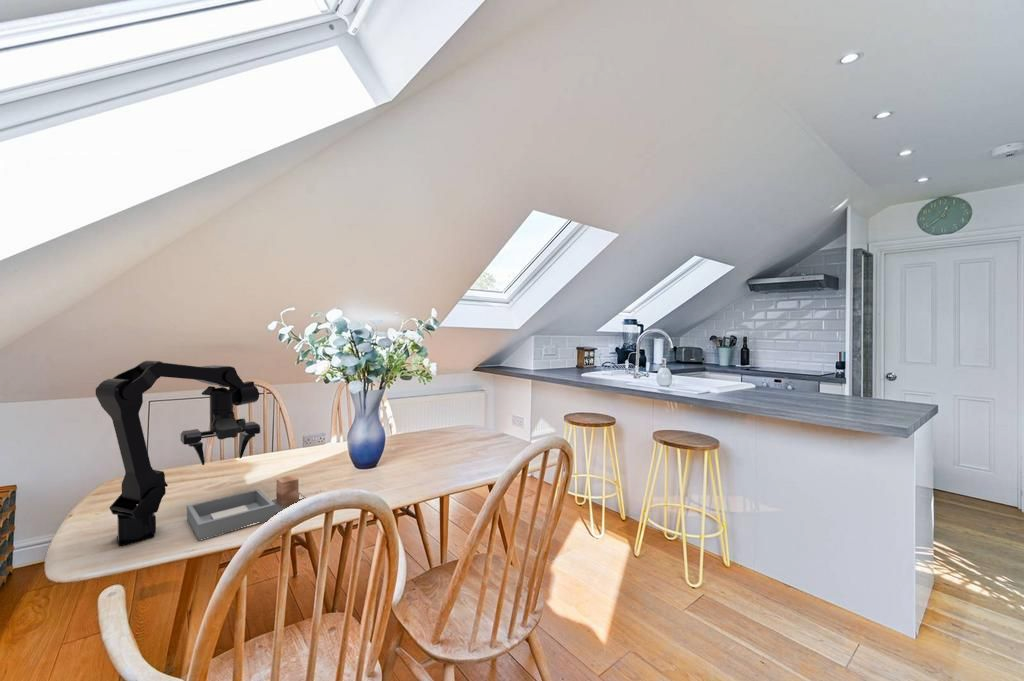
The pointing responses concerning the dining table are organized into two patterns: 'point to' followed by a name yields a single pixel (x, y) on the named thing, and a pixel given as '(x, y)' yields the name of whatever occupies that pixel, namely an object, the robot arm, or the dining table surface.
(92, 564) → the dining table surface
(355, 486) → the dining table surface
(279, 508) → the mat
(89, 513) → the dining table surface
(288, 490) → the block
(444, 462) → the dining table surface
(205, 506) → the crate
